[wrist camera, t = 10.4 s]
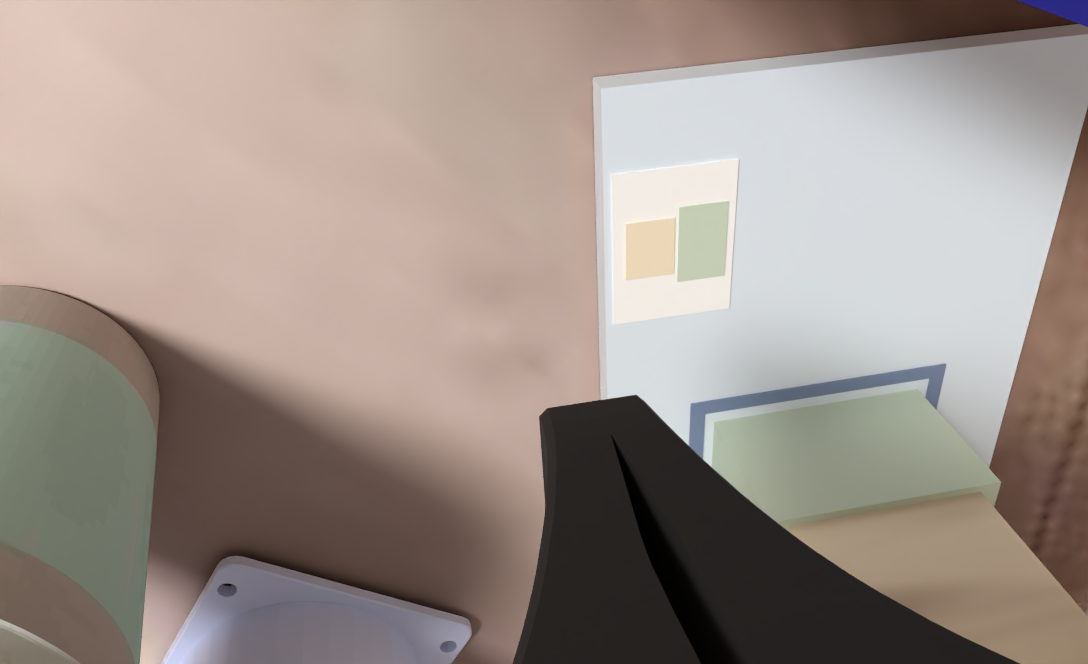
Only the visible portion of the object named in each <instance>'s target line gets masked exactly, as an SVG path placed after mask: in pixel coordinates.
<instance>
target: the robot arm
mask: <svg viewBox="0 0 1088 664" xmlns="http://www.w3.org/2000/svg"><path fill="white" fill-rule="evenodd" d="M539 420H540V434H541V449H542V463H543V477H544V491H545V518H544V526H543V533H542V539H541V546H540V552H539V558H538V564H537V570H536V576H535V580H534V585H533V590H532V594H531V599H530V603H529V607H528V611H527V615H526V619H525V623H524V627H523V631H522V635H521V638H520V641H519V645H518V648H517V651H516V655H515V658H514V661H513V664H1020V663H1018V662H1016V661H1014V660H1011V659H1009V658H1007V657H1005V656H1003V655H1001V654H999V653H996V652H994V651H992V650H990V649H988V648H986V647H984V646H981V645H979V644H977V643H975V642H973V641H971V640H969V639H966V638H964V637H962V636H960V635H958V634H956V633H954V632H952V631H950V630H948V629H947V628H945V627H943V626H941V625H939V624H937V623H935V622H933V621H931V620H929V619H927V618H925V617H924V616H922V615H920V614H918V613H916V612H915V611H913V610H911V609H909V608H907V607H906V606H904V605H902V604H900V603H898V602H897V601H895V600H893V599H891V598H889V597H888V596H886V595H884V594H882V593H880V592H879V591H877V590H875V589H874V588H872V587H870V586H869V585H867V584H865V583H864V582H862V581H860V580H859V579H857V578H855V577H854V576H852V575H851V574H849V573H848V572H846V571H845V570H843V569H842V568H840V567H839V566H837V565H836V564H834V563H833V562H831V561H830V560H828V559H827V558H825V557H824V556H822V555H820V554H819V553H817V552H816V551H815V550H813V549H812V548H810V547H809V546H808V545H806V544H805V543H803V542H802V541H801V540H799V539H798V538H797V537H795V536H794V535H793V534H791V533H790V532H789V531H787V530H786V529H785V528H784V527H782V526H781V525H780V524H778V523H777V522H776V521H775V520H773V519H772V518H771V517H770V516H768V515H767V514H766V513H764V512H763V511H762V510H761V509H759V508H758V507H757V506H756V505H755V504H753V503H752V502H751V501H750V500H749V499H747V498H746V497H745V496H744V495H743V494H741V493H740V492H739V491H738V490H737V489H736V488H735V487H733V486H732V485H731V484H730V483H729V482H728V481H727V480H726V479H724V478H723V477H722V476H721V475H720V474H719V473H718V472H716V471H715V470H714V469H713V468H712V467H711V466H710V465H709V464H708V463H706V462H705V461H704V460H703V459H702V458H701V457H700V456H699V455H698V454H697V453H696V452H695V451H694V450H693V449H692V448H691V447H690V446H689V445H687V444H686V443H685V442H684V441H683V440H682V439H681V438H680V437H679V436H678V435H677V434H676V433H675V432H674V431H673V430H672V429H671V428H670V427H669V426H668V425H667V424H666V423H665V422H664V421H663V420H662V419H661V418H660V417H659V416H658V415H657V414H656V413H655V412H654V411H653V409H652V408H651V407H650V406H649V405H648V404H647V403H646V402H645V401H644V400H642V399H641V398H640V397H639V396H637V395H631V396H624V397H618V398H611V399H605V400H598V401H592V402H585V403H579V404H573V405H566V406H560V407H553V408H547V409H546V410H545V411H544V412H543V413H542V414H541V415H540V416H539ZM225 583H229V584H233V585H232V586H224V585H222V584H225ZM471 636H472V630H471V623H470V622H469V620H468V619H466V618H464V617H462V616H458V615H454V614H451V613H447V612H443V611H440V610H436V609H432V608H429V607H425V606H421V605H418V604H414V603H410V602H407V601H403V600H400V599H396V598H392V597H389V596H385V595H381V594H378V593H374V592H370V591H367V590H363V589H359V588H356V587H352V586H348V585H345V584H341V583H337V582H334V581H330V580H327V579H323V578H319V577H316V576H312V575H308V574H305V573H301V572H297V571H294V570H290V569H286V568H283V567H279V566H275V565H272V564H268V563H264V562H261V561H257V560H254V559H250V558H246V557H242V556H230V557H227V558H225V559H222V560H221V561H220V562H219V564H218V565H217V567H216V568H215V570H214V572H213V574H212V575H211V577H210V579H209V581H208V582H207V584H206V586H205V588H204V589H203V591H202V593H201V594H200V596H199V598H198V600H197V601H196V603H195V605H194V607H193V608H192V610H191V612H190V614H189V615H188V617H187V619H186V621H185V622H184V624H183V626H182V628H181V629H180V631H179V633H178V634H177V636H176V638H175V640H174V641H173V643H172V645H171V647H170V648H169V650H168V652H167V654H166V655H165V657H164V659H163V661H162V662H161V664H451V663H452V662H453V661H454V659H455V658H456V657H457V655H458V654H459V653H460V651H461V650H462V649H463V647H464V646H465V645H466V643H467V642H468V641H469V639H470V638H471ZM446 641H450V642H446Z"/></svg>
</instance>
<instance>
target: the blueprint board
mask: <svg viewBox="0 0 1088 664" xmlns="http://www.w3.org/2000/svg"><path fill="white" fill-rule="evenodd" d="M1087 108H1088V27H1087V26H1084V25H1081V24H1074V25H1065V26H1056V27H1047V28H1038V29H1029V30H1019V31H1010V32H1001V33H992V34H983V35H974V36H965V37H956V38H947V39H938V40H929V41H920V42H911V43H901V44H892V45H883V46H874V47H865V48H856V49H847V50H838V51H829V52H820V53H811V54H802V55H793V56H784V57H774V58H765V59H756V60H747V61H738V62H729V63H720V64H711V65H702V66H693V67H684V68H675V69H666V70H657V71H647V72H638V73H629V74H620V75H611V76H602V77H593V111H594V151H595V192H596V233H597V273H598V314H599V354H600V395H601V400H605V399H611V398H618V397H624V396H631V395H637V396H639V397H640V398H641V399H642V400H644V401H645V402H646V403H647V404H648V405H649V406H650V407H651V408H652V409H653V411H654V412H655V413H656V414H657V415H658V416H659V417H660V418H661V419H662V420H663V421H664V422H665V423H666V424H667V425H668V426H669V427H670V428H671V429H672V430H673V431H674V432H675V433H676V434H677V435H678V436H679V437H680V438H681V439H682V440H683V441H684V442H685V443H686V444H687V445H689V446H690V447H691V448H692V449H693V450H694V451H695V452H696V453H697V454H698V455H699V456H700V457H701V458H702V459H703V460H704V461H705V462H706V463H708V464H709V465H710V466H711V467H712V450H713V433H714V421H720V420H727V419H733V418H739V417H745V416H752V415H758V414H764V413H770V412H777V411H783V410H789V409H795V408H801V407H808V406H814V405H820V404H826V403H833V402H839V401H845V400H851V399H858V398H864V397H870V396H876V395H883V394H889V393H895V392H901V391H908V390H914V389H918V390H919V391H920V392H921V393H922V394H923V396H924V397H925V398H926V399H927V400H928V401H929V402H930V403H931V404H932V406H933V407H934V408H935V409H936V410H937V411H938V412H939V413H940V414H941V416H942V417H943V418H944V419H945V420H946V421H947V422H948V423H949V424H950V426H951V427H952V428H953V429H954V430H955V431H956V432H957V433H958V434H959V436H960V437H961V438H962V439H963V440H964V441H965V442H966V443H967V444H968V446H969V447H970V448H971V449H972V450H973V451H974V452H975V453H976V455H977V456H978V457H979V458H980V459H981V460H982V461H983V462H984V463H985V465H986V466H987V467H988V468H989V467H990V463H991V459H992V456H993V452H994V448H995V445H996V441H997V437H998V434H999V430H1000V426H1001V423H1002V419H1003V415H1004V412H1005V408H1006V404H1007V401H1008V397H1009V393H1010V390H1011V386H1012V382H1013V379H1014V375H1015V371H1016V368H1017V364H1018V360H1019V357H1020V353H1021V349H1022V346H1023V342H1024V338H1025V335H1026V331H1027V327H1028V324H1029V320H1030V316H1031V313H1032V309H1033V305H1034V302H1035V298H1036V294H1037V291H1038V287H1039V283H1040V280H1041V276H1042V272H1043V269H1044V265H1045V261H1046V258H1047V254H1048V250H1049V247H1050V243H1051V239H1052V236H1053V232H1054V228H1055V225H1056V221H1057V217H1058V214H1059V210H1060V206H1061V203H1062V199H1063V195H1064V192H1065V188H1066V184H1067V181H1068V177H1069V173H1070V170H1071V166H1072V162H1073V159H1074V155H1075V151H1076V148H1077V144H1078V141H1079V137H1080V133H1081V130H1082V126H1083V122H1084V119H1085V115H1086V111H1087Z"/></svg>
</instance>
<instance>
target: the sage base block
mask: <svg viewBox="0 0 1088 664" xmlns="http://www.w3.org/2000/svg"><path fill="white" fill-rule="evenodd" d="M712 468H713V469H714V470H715V471H716V472H718V473H719V474H720V475H721V476H722V477H723V478H724V479H726V480H727V481H728V482H729V483H730V484H731V485H732V486H733V487H735V488H736V489H737V490H738V491H739V492H740V493H741V494H743V495H744V496H745V497H746V498H747V499H749V500H750V501H751V502H752V503H753V504H755V505H756V506H757V507H758V508H759V509H761V510H762V511H763V512H764V513H766V514H767V515H768V516H770V517H771V518H772V519H773V520H775V521H776V522H777V523H778V524H780V525H781V526H782V527H784V528H785V529H786V530H787V531H788V527H789V526H794V525H799V524H805V523H810V522H816V521H821V520H827V519H832V518H838V517H843V516H849V515H854V514H860V513H865V512H871V511H876V510H882V509H887V508H893V507H898V506H904V505H909V504H915V503H920V502H926V501H931V500H937V499H942V498H948V497H953V496H958V495H964V494H969V493H975V492H981V493H982V494H983V495H984V496H985V497H986V499H987V500H988V501H989V502H990V503H991V504H992V506H993V507H994V506H995V502H996V499H997V495H998V492H999V488H1000V485H1001V481H1000V480H999V479H998V478H997V477H996V476H995V475H994V473H993V472H992V471H991V470H990V469H989V468H988V467H987V466H986V465H985V463H984V462H983V461H982V460H981V459H980V458H979V457H978V456H977V455H976V453H975V452H974V451H973V450H972V449H971V448H970V447H969V446H968V444H967V443H966V442H965V441H964V440H963V439H962V438H961V437H960V436H959V434H958V433H957V432H956V431H955V430H954V429H953V428H952V427H951V426H950V424H949V423H948V422H947V421H946V420H945V419H944V418H943V417H942V416H941V414H940V413H939V412H938V411H937V410H936V409H935V408H934V407H933V406H932V404H931V403H930V402H929V401H928V400H927V399H926V398H925V397H924V396H923V394H922V393H921V392H920V391H919V390H918V389H914V390H908V391H901V392H895V393H889V394H883V395H876V396H870V397H864V398H858V399H851V400H845V401H839V402H833V403H826V404H820V405H814V406H808V407H801V408H795V409H789V410H783V411H777V412H770V413H764V414H758V415H752V416H745V417H739V418H733V419H727V420H720V421H714V433H713V450H712Z"/></svg>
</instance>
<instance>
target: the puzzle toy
mask: <svg viewBox="0 0 1088 664" xmlns="http://www.w3.org/2000/svg"><path fill="white" fill-rule="evenodd" d="M1017 1H1019V2H1022V3H1025V4H1027V5H1030V6H1033V7H1035V8H1038V9H1041V10H1044V11H1046V12H1049V13H1052V14H1054V15H1057V16H1060V17H1062V18H1065V19H1068V20H1070V21H1073V22H1076V23H1078V24H1081V25H1084V26H1087V27H1088V0H1017Z"/></svg>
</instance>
